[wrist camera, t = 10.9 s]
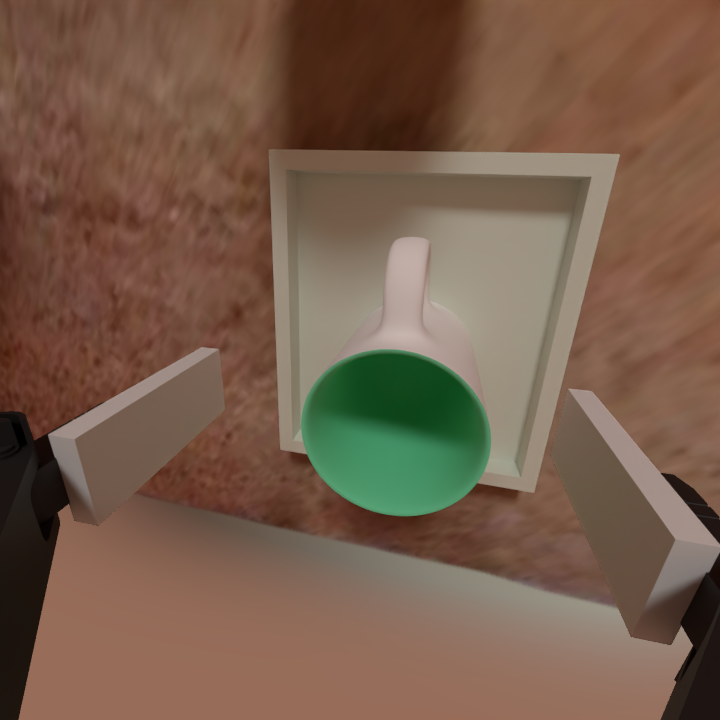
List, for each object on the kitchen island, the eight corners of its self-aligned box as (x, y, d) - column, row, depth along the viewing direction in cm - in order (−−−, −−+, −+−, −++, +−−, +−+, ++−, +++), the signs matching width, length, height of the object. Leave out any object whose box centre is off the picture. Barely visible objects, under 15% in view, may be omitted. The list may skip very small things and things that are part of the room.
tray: (292, 432, 31) (280, 449, 29) (286, 155, 24) (268, 149, 22) (526, 469, 28) (533, 492, 25) (601, 161, 21) (619, 153, 18)
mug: (347, 235, 24) (281, 246, 14) (481, 230, 22) (508, 238, 13) (356, 407, 28) (309, 505, 18) (470, 414, 26) (484, 526, 17)
